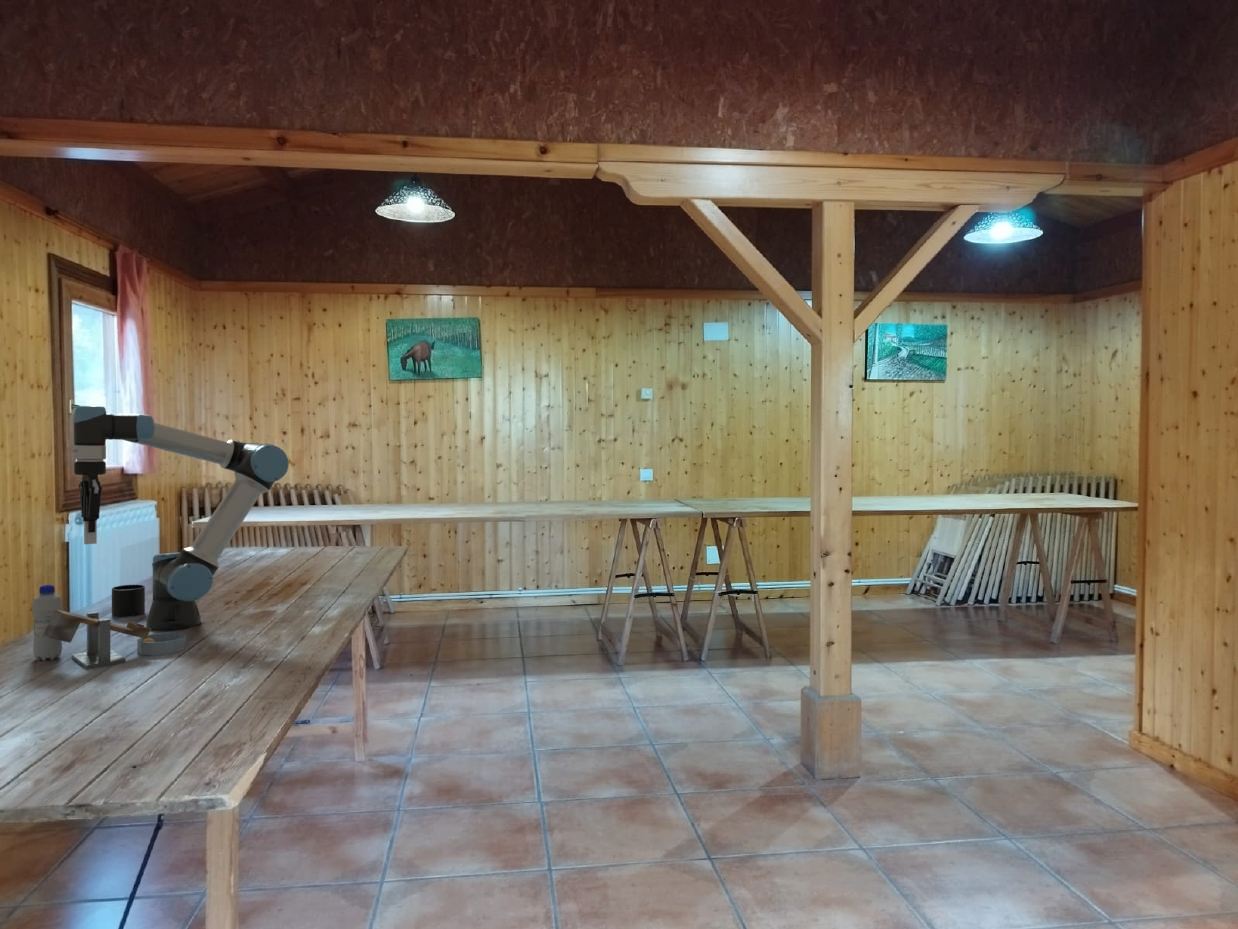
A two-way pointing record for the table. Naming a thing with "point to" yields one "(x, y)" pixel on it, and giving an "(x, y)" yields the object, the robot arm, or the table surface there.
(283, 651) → the table surface
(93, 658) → the fulcrum
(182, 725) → the table surface
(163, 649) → the bowl
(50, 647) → the bottle
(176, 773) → the table surface
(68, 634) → the lever
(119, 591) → the mug
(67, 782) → the table surface
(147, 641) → the ball
